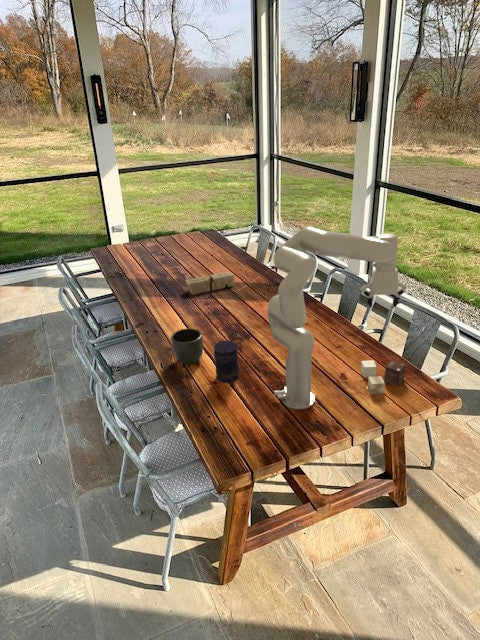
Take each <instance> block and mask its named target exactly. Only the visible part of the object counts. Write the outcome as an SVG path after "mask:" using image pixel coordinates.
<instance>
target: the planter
mask: <svg viewBox="0 0 480 640" xmlns="http://www.w3.org/2000/svg"><path fill="white" fill-rule="evenodd" d="M203 341H204V340H203V333H202V331H200V330H198V329H197V328H183V329H179V330H177V331H175V332H174V333H172V335H171V336H170V342H171V348H172V352H173V356H174V357H175V359H176V360H177V361H178V362H180V363H181V364H182V365H184V366H185V365H186V366H189V365H194V364H195V363H197V362H198V361H199V360H200V359H201V358H202V355H203V351H204V350H203V349H204V347H203V346H204V344H203V343H204V342H203Z"/></svg>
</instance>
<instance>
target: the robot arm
mask: <svg viewBox="0 0 480 640" xmlns="http://www.w3.org/2000/svg"><path fill="white" fill-rule="evenodd" d="M398 244H399V238H398V235H396V234H395V233H389V232H386V233H381V234H379V235H372V236H370V235H369V236H365V237H362V236H358V235H356V234H351V233H347V232H346V233H345V232H337V231H328V230H323V229H319V228H316V227H313V226H305V227H304V228H302V229H301V230H299V231H297V232H296V233H295V234H294V235H292V236H291V237H290V238H289V239H287V240H286V241H285V242H284V243H283V244H281V246H279V247H278V248H277V250H276V251H275V253H274V256H273V265H274V266H275V267H276V268H277V269H278V270H280V271H282V272H284V273H286V275H285V277H284V278H283V279H282V281H281V282H280V284H279V286H278V291H277V294H275V295H274V296H272V297H271V298H270V299H269V302H268V304H267V309H266V310H267V311H266V313H267V318H268V323H269V327H270V333H271V335H272V337H273V339H274V341H276V342H278V343H279V344H280V345H282V346H283V347H285V348H286V349H287V350H288V352H289V353H288V355H287V356H286V357H285V386H284V389H282V390H273V393H274V397H276V396H277V400H278V399H279V400H281V399H282V403H283V404H284V405H285V406H286V407H287V408H289V409H292V410H299V411H300V410H301V411H302V410H307V409H309V408H311V407H312V406H313V405H314V404H315V402H316V401H315V400H316V397H315V394H314V393H312V356H313V351H314V350H313V349H314V348H315V347H314V346H315V337H314V335H313V334H312V333H311V332H310V330H309V329H307V328H305V327H304V326H305V324H306V322H307V310H306V304H305V298H304V289H305V286H306V284H307V282H308V281H309V279H310V278H311V277H312V276H313V274H314V272H315V271H316V270H315V269H316V261H315V259H314V257H312V256H311V255H310V254H308V253H311V254H314V255H317V256H321V257H333V258H344V259H350V260H355V261H356V260H357V261H365V262H369V263H371V267H373V270H372V274H371V277H370V278H371V279H370V282H368V283H366V284H364V285H362V286H361V287H360V288H361V290H362V292H363V294H364V296H366V297H367V300H366V302H367V305H368V306H369V308H373V307H372V306H373V296H374V295H375V296H389V295H391V296H392V295H393V297H392V299H393V300H392V305H393V307H395V308H396V307H397V305H398V304H399V298H400V296H401V295H402V294H404V292H405V291H406V289H407V285H406V284H404V283H401V282H399V270H398V269H397V267H396V266H397V255H398V246H399V245H398ZM305 252H308V253H305ZM399 287H400V289H399ZM369 288H370V290H369V291H367V289H369Z"/></svg>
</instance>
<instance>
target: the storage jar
mask: <svg viewBox="0 0 480 640" xmlns="http://www.w3.org/2000/svg"><path fill="white" fill-rule="evenodd" d="M213 353H214V354H213V355H214V359H215V374H216V379H217V381H219V382H220V383H223V384H231V383H234V382H236V381H237V380H238V379H239V378H240V368H239V364H238V357H239V355H238V353H239V351H238V344H237V343H236V342H234V341H232V340H221V341H218V342H216V343H215V344H214V346H213Z"/></svg>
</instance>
